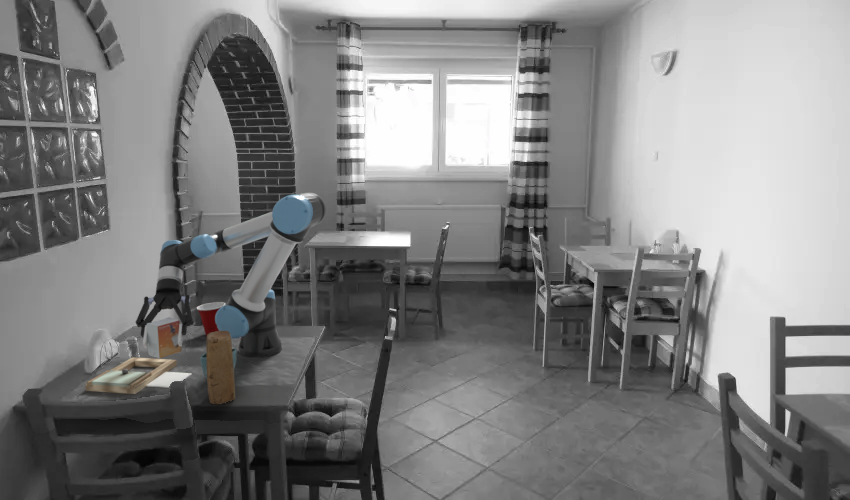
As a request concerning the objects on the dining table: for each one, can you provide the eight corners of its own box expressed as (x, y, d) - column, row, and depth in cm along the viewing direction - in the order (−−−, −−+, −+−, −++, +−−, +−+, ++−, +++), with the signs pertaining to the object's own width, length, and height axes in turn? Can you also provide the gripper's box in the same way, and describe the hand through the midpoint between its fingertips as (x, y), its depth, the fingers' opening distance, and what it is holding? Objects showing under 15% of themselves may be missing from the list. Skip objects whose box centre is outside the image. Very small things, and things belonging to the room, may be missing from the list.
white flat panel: (191, 374, 189) (191, 373, 189) (173, 388, 178) (173, 387, 178) (166, 372, 190) (165, 371, 190) (146, 386, 179) (145, 385, 179)
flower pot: (212, 374, 190) (210, 347, 188) (238, 374, 189) (237, 348, 188) (201, 384, 181) (199, 357, 179) (229, 385, 181) (227, 358, 179)
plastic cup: (206, 329, 235) (205, 300, 233) (232, 330, 234) (230, 301, 232) (192, 337, 225) (190, 307, 223) (219, 339, 223) (217, 309, 221)
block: (236, 404, 168) (232, 337, 164) (208, 407, 165) (204, 340, 162) (234, 389, 178) (231, 326, 174) (208, 392, 175) (204, 329, 172)
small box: (159, 359, 178) (156, 326, 176) (148, 355, 181) (145, 323, 179) (182, 351, 185) (180, 319, 183) (171, 348, 188) (169, 316, 186)
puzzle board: (176, 365, 197) (175, 353, 196) (135, 393, 174) (133, 380, 173) (132, 363, 198) (131, 351, 198) (86, 390, 176) (84, 377, 175)
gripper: (206, 287, 197) (201, 348, 185) (136, 290, 192) (126, 352, 180) (203, 275, 191) (198, 337, 179) (130, 278, 186) (120, 342, 174)
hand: (162, 345), depth 179 cm, fingers closed on small box, 9 cm apart
